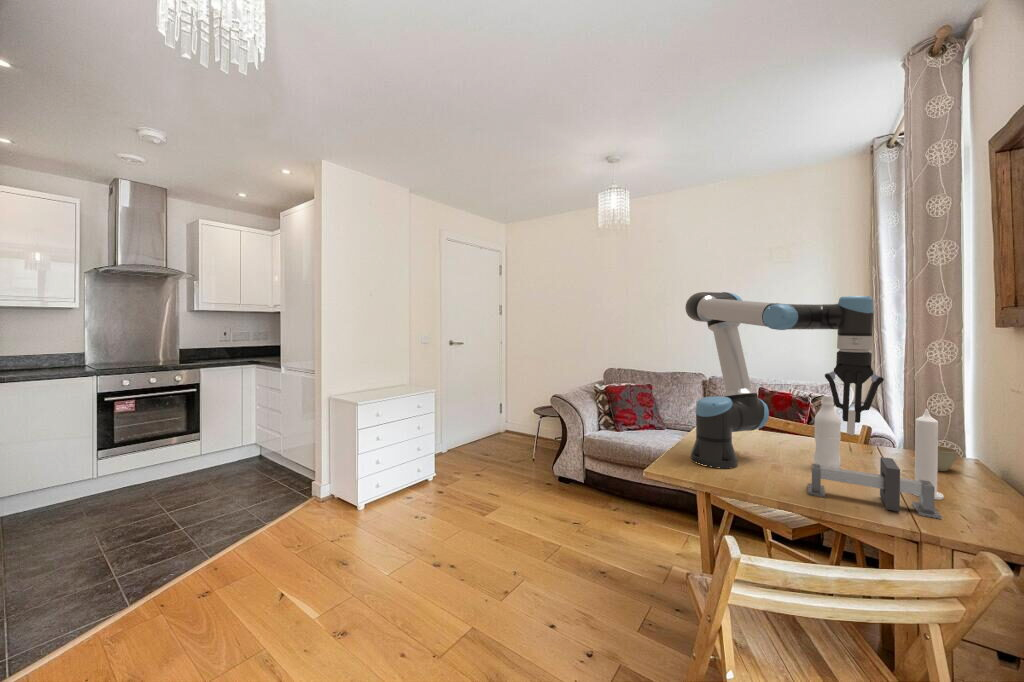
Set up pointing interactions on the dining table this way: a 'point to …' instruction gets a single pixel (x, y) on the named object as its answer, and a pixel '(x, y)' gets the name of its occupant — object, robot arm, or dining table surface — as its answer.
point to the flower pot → (946, 458)
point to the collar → (890, 484)
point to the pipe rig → (875, 486)
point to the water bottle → (827, 435)
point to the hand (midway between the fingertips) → (850, 433)
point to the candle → (927, 451)
